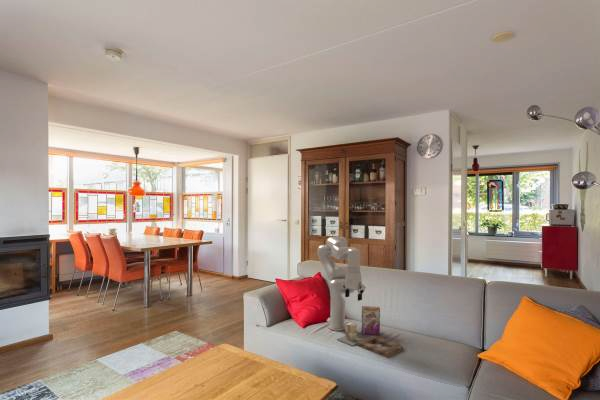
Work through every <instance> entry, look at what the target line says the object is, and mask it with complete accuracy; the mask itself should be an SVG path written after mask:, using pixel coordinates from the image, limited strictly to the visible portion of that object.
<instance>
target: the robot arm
mask: <svg viewBox="0 0 600 400" xmlns="http://www.w3.org/2000/svg"><path fill="white" fill-rule="evenodd" d="M317 257H318V260H319V262H320V263H321V265H322V266H323V269H324V271H325V274H326V277H327V279H328V280H329V281H330V282H329V284H328V285H329V286H328V287H329V296H330V315H329V316H330V317H328V318H327V319H326V322H328V323H329V324H327V328H328V329H329V330H332V331H335V332H336V331H341V332H342V331H346V300H345V298H349V297H350V294H353V293H354V292H356V291H357V301H358V302H360V301H363V294H364V292H365V291H366V286H365V285H364V284H363V279H362V278H363V277H362V273H361V250H360V249H358V248H356V247H353V246H351V247H350V246H348V240H347V238H346V237H344V236H330V237H328V238H326V241H325V244H322V245H320V246H318V248H317ZM331 257H333V258H334V259H335V260H339V261H343V260H344V261H345V260H346V261H347V262H346V264H347V265H346V266H337V263H336V262H335V261H334V260H333V258H331ZM342 295H344V297H345V298H344V297H343V296H342Z"/></svg>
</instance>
